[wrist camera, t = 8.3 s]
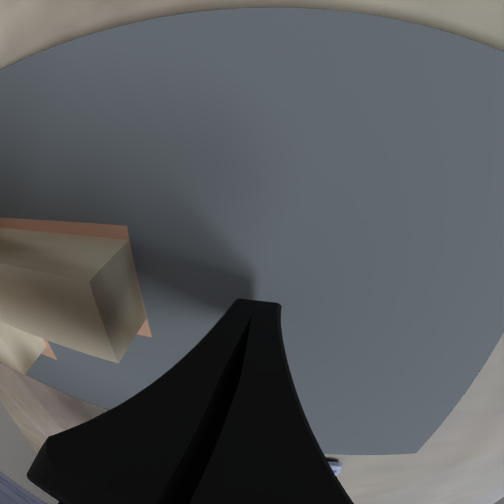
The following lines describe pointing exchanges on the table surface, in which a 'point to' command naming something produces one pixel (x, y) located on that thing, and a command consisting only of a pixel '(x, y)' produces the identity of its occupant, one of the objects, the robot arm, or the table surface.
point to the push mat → (278, 200)
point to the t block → (66, 296)
